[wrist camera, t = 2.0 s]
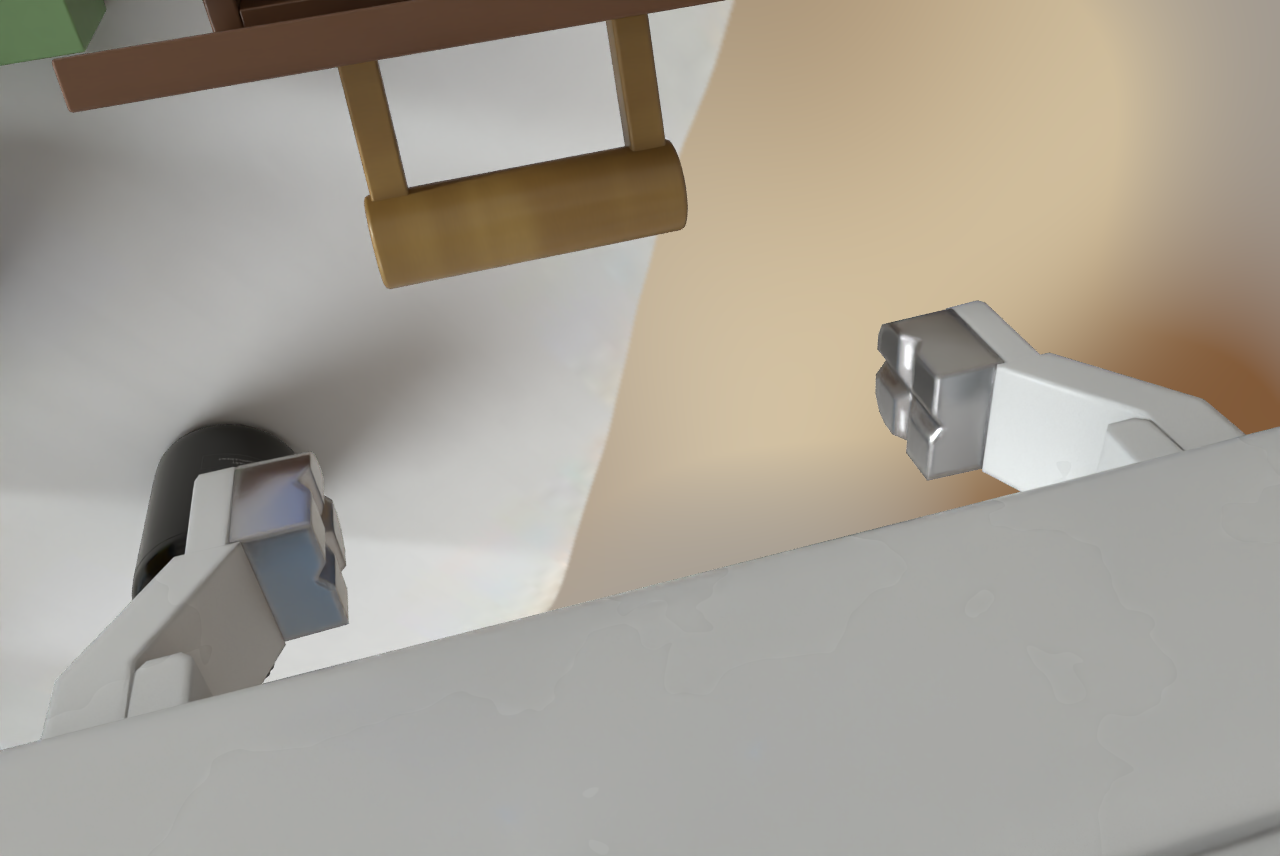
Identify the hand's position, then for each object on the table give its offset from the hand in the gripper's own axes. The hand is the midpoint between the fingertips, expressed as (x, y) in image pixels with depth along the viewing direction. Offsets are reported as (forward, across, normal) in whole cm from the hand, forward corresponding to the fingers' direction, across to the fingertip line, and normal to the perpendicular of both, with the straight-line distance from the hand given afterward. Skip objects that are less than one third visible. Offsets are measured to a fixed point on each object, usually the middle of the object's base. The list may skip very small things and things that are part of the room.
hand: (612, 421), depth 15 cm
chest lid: (+14, 0, -2) cm, 14 cm away
